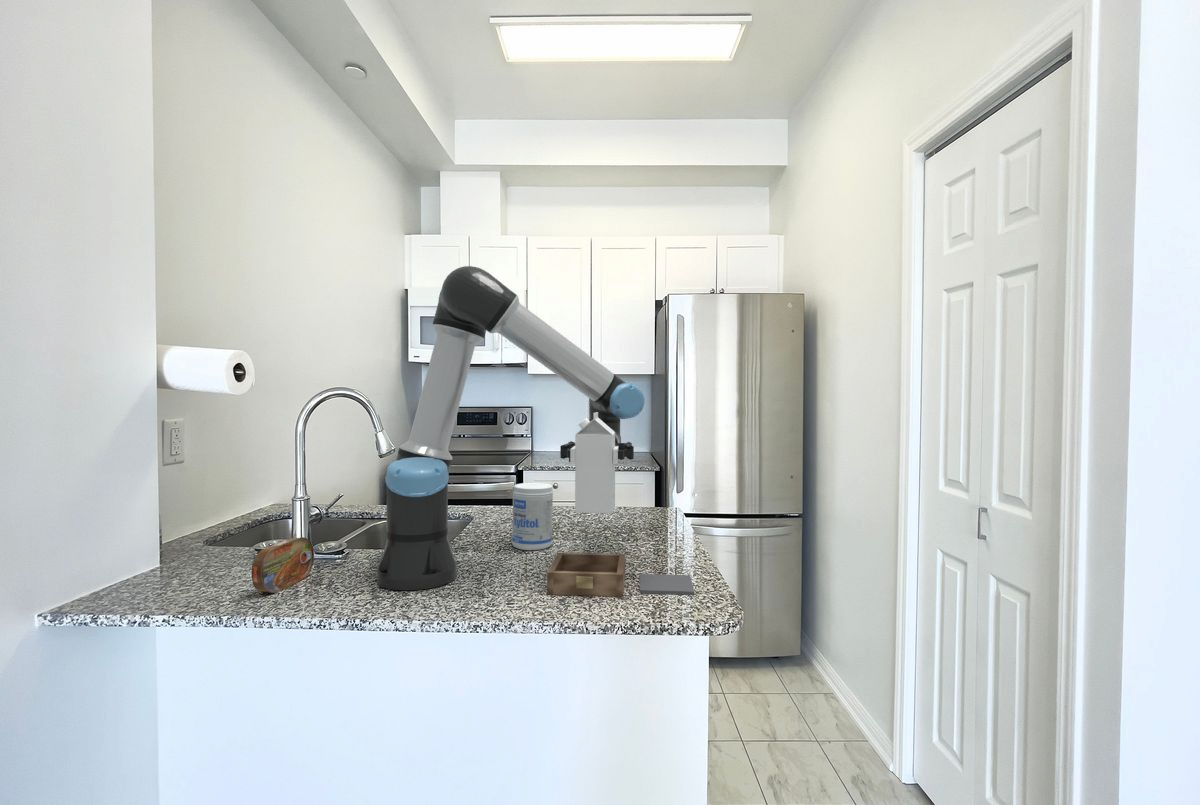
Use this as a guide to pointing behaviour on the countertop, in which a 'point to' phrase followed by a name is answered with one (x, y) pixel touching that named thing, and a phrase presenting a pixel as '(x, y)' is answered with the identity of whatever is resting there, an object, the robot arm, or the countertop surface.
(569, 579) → the wooden square frame
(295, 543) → the tin
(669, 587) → the rubber mat
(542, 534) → the supplement tub
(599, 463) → the milk carton
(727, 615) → the countertop surface
